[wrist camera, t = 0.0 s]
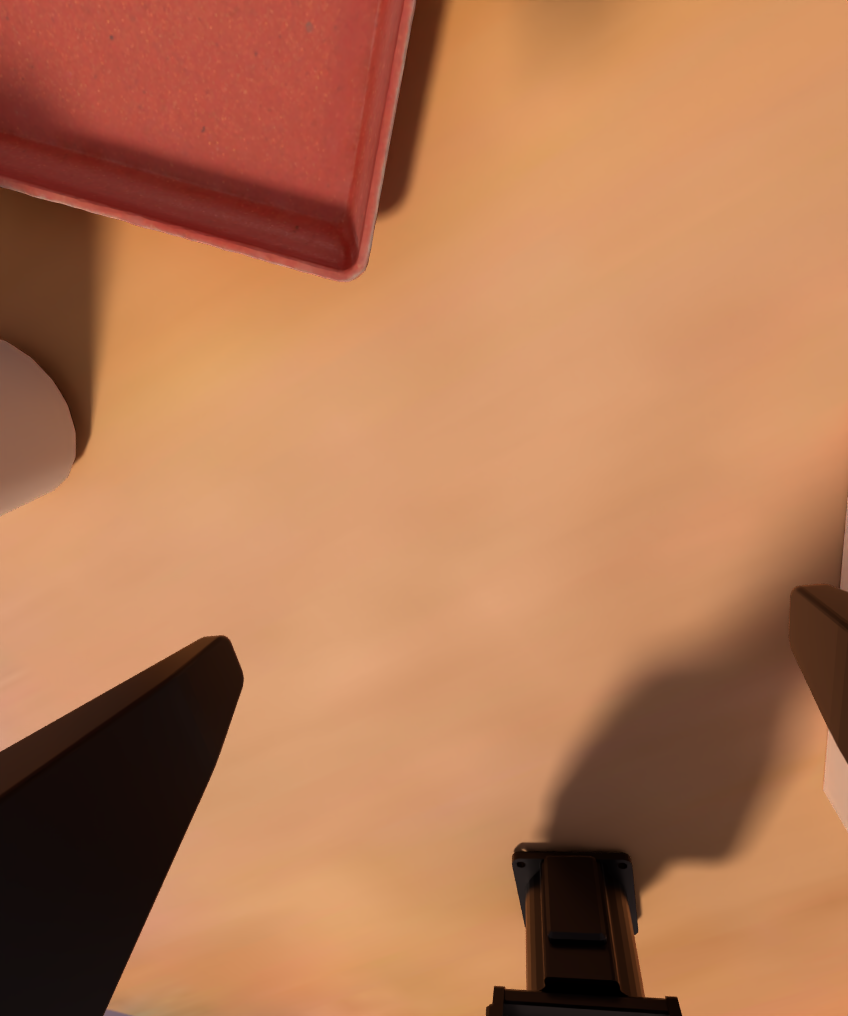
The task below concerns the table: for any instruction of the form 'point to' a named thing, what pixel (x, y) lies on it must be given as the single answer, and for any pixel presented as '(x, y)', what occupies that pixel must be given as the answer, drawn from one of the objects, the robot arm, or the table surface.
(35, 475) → the tan flat slab
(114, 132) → the plant saucer
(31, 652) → the table surface
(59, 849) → the robot arm
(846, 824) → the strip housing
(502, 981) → the table surface
